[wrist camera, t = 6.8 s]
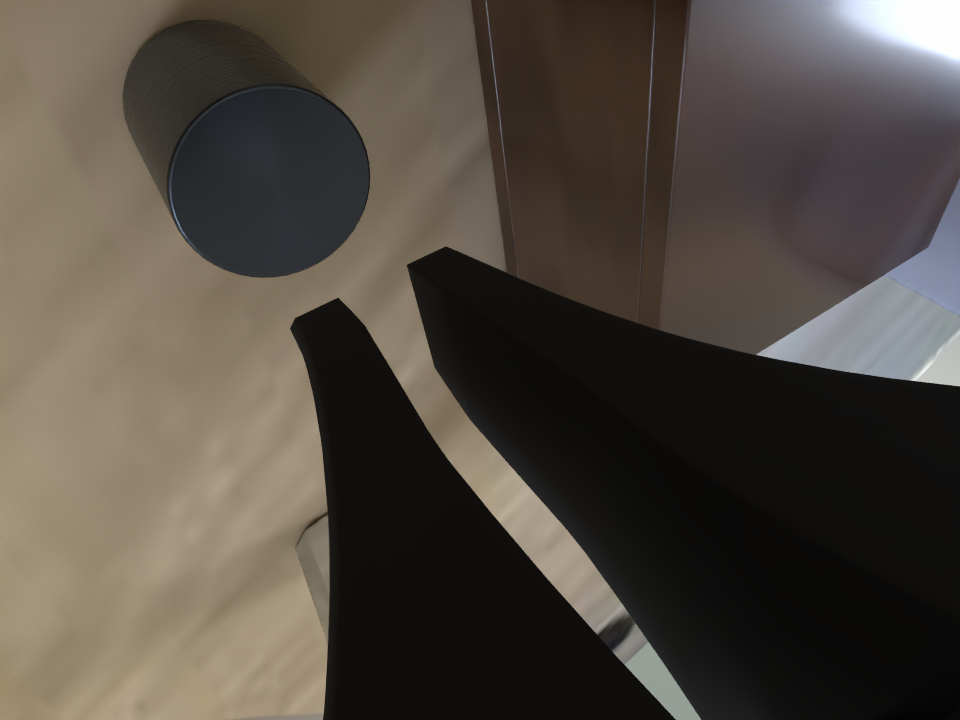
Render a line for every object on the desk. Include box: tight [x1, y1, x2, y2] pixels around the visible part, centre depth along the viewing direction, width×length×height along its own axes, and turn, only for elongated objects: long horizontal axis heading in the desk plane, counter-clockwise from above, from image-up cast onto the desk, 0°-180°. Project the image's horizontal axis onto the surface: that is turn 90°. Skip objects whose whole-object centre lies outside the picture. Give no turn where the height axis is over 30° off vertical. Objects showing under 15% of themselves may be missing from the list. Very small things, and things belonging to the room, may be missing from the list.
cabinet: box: [471, 0, 960, 355], centre depth 18 cm, size 13×12×8 cm
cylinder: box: [123, 20, 370, 278], centre depth 14 cm, size 4×4×4 cm
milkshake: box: [296, 514, 330, 644], centre depth 24 cm, size 5×5×10 cm
